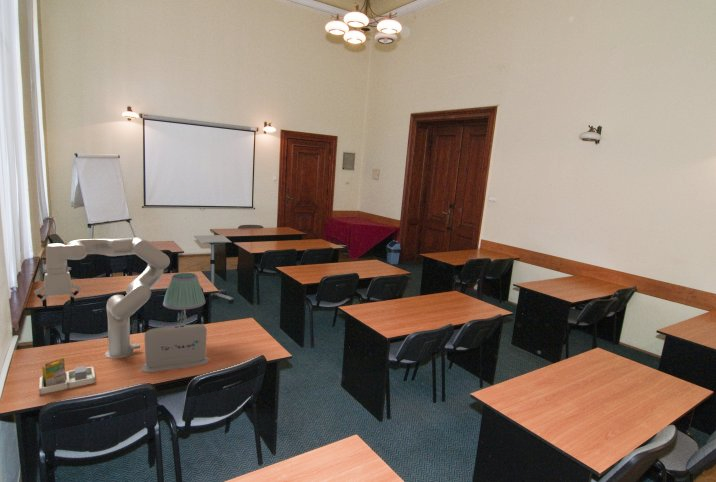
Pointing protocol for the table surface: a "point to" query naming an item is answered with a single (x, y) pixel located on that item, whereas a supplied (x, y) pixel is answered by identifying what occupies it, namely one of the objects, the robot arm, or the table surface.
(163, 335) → the wireless router
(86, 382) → the divided tray
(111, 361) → the table surface
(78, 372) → the grey block
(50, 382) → the crayon box
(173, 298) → the table lamp
